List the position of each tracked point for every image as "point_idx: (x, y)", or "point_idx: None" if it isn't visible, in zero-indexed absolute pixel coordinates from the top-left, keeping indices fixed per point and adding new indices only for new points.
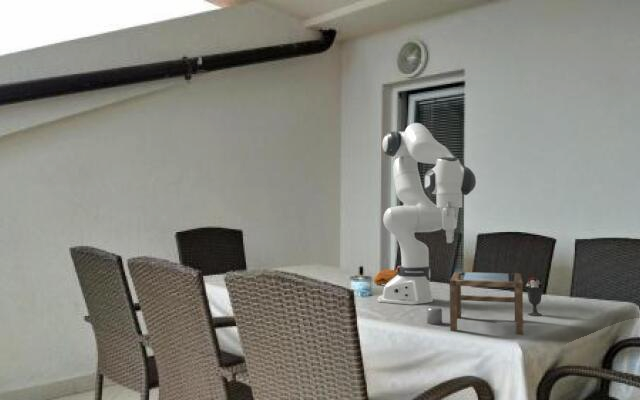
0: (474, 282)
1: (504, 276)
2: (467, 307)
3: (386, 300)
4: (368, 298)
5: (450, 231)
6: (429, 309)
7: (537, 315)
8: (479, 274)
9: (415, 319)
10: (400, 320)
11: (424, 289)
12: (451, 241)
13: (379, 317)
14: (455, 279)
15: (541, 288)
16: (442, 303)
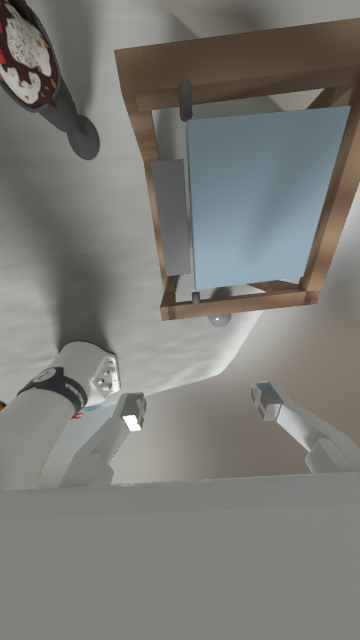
0: (334, 242)
1: (254, 136)
2: (89, 288)
3: (118, 384)
4: (104, 401)
5: (353, 455)
6: (228, 322)
7: (94, 129)
8: (223, 244)
9: (199, 334)
10: (209, 346)
11: (83, 360)
12: (277, 385)
13: (200, 366)
14: (300, 294)
15: (32, 15)
16: (81, 327)
